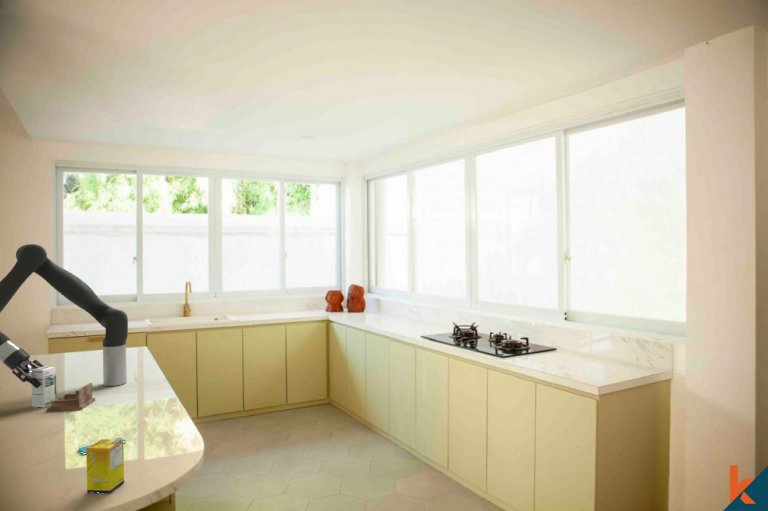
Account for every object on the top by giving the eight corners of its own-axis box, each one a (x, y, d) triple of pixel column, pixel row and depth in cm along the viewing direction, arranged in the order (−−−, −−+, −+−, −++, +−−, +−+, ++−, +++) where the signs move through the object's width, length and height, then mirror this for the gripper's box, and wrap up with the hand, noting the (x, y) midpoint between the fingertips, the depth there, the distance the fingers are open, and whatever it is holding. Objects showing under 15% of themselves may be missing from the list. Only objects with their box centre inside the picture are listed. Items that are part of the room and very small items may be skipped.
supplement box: (102, 482, 127) (101, 438, 127) (124, 483, 127) (124, 439, 127) (86, 493, 121) (85, 447, 121) (109, 494, 121) (109, 448, 121)
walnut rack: (62, 402, 199) (61, 384, 199) (95, 400, 201) (94, 382, 201) (46, 411, 187) (46, 392, 187) (82, 409, 189) (81, 390, 189)
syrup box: (44, 408, 192) (43, 369, 192) (31, 407, 193) (30, 369, 193) (57, 403, 197) (56, 366, 197) (44, 403, 199) (43, 365, 199)
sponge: (128, 442, 153) (122, 435, 157) (82, 453, 145) (77, 446, 149) (128, 447, 153) (122, 440, 157) (82, 458, 145) (77, 451, 149)
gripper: (8, 351, 187) (43, 380, 189) (29, 344, 201) (61, 372, 203) (-8, 366, 186) (27, 395, 188) (15, 358, 200) (47, 386, 202)
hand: (45, 383), depth 195 cm, fingers open, 8 cm apart
